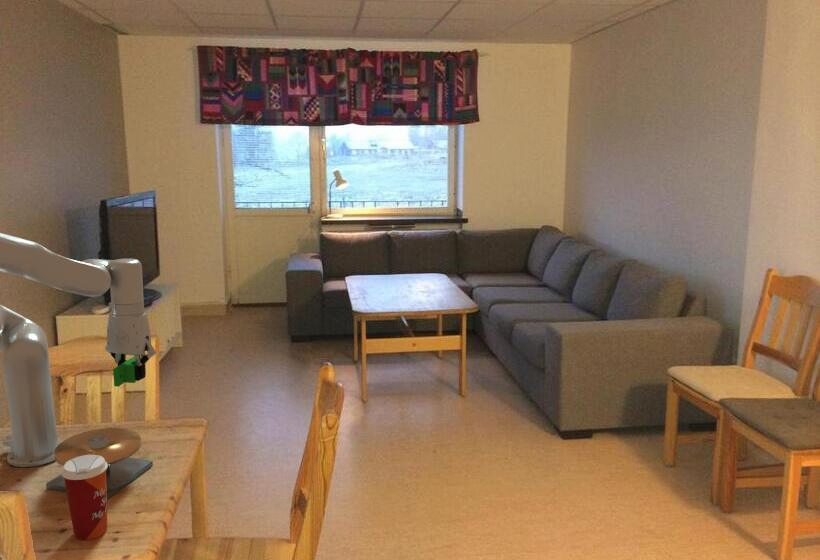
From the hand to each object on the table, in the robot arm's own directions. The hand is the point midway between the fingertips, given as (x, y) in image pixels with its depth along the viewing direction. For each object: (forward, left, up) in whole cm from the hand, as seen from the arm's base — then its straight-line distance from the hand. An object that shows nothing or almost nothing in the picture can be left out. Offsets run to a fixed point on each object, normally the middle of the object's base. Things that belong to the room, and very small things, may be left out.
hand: (132, 377), depth 178 cm
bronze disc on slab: (+5, -20, -17) cm, 27 cm away
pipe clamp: (0, 0, -1) cm, 1 cm away
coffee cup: (+18, -40, -17) cm, 47 cm away
